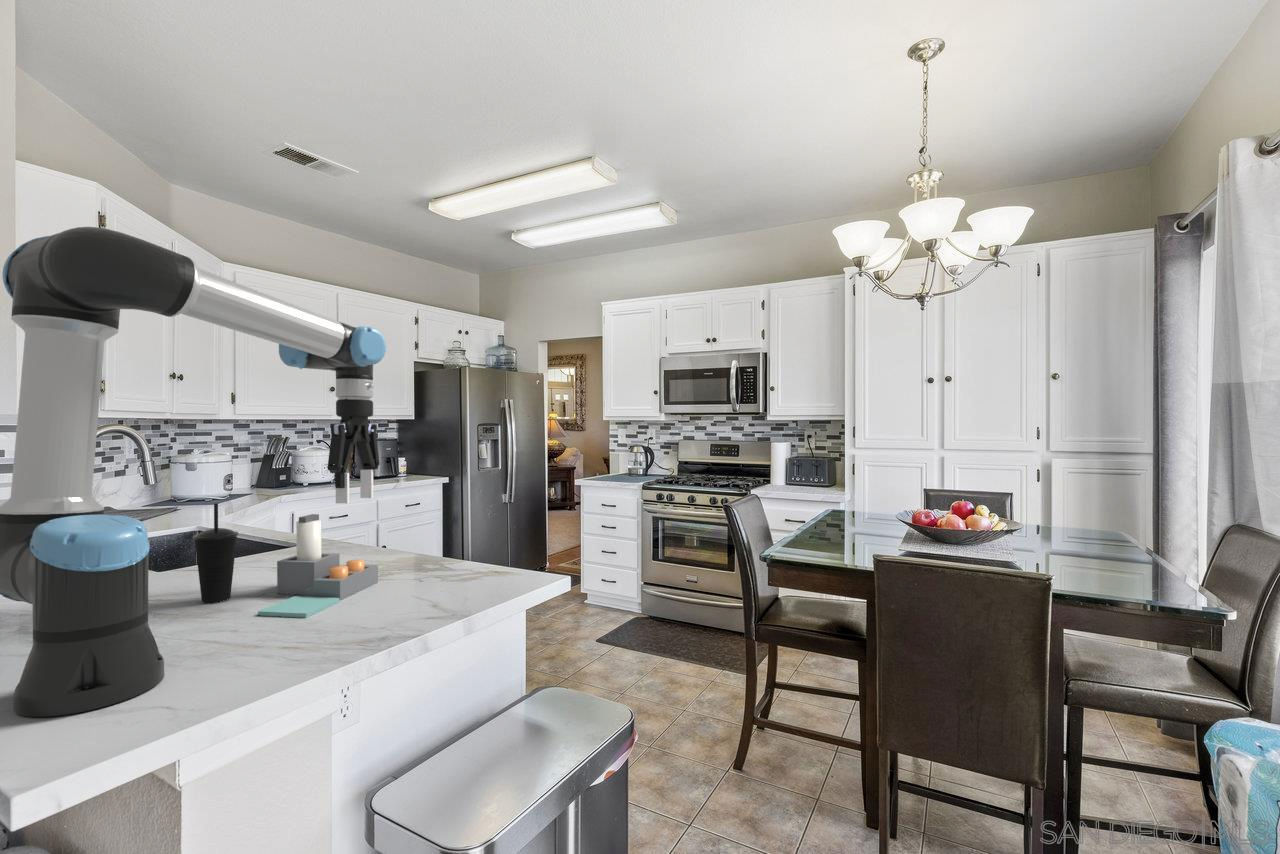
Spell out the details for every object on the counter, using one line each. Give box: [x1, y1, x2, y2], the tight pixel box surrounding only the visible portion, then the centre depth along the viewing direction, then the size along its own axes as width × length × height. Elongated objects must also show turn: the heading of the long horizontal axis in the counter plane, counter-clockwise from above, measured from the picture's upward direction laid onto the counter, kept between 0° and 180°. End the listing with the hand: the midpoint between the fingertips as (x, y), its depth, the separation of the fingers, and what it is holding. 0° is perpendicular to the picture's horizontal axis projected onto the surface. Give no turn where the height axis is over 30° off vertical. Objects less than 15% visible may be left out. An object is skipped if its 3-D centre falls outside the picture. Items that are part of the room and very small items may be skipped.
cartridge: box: [295, 513, 322, 561], centre depth 132 cm, size 5×5×16 cm
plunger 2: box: [345, 559, 365, 572], centre depth 134 cm, size 4×4×5 cm
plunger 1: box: [329, 565, 348, 579], centre depth 128 cm, size 4×4×5 cm
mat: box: [257, 595, 340, 619], centre depth 118 cm, size 10×10×1 cm
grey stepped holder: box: [276, 552, 379, 601], centre depth 131 cm, size 14×16×7 cm
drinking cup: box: [192, 502, 239, 604], centre depth 123 cm, size 8×8×20 cm
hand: (355, 500), depth 134 cm, fingers open, 8 cm apart
